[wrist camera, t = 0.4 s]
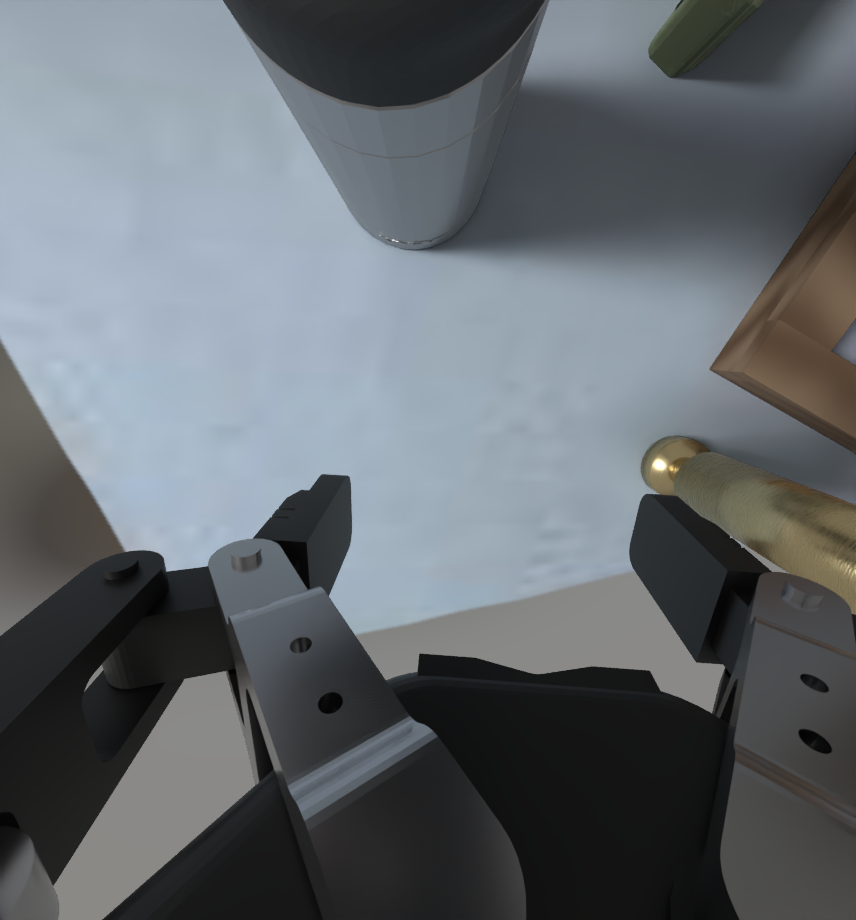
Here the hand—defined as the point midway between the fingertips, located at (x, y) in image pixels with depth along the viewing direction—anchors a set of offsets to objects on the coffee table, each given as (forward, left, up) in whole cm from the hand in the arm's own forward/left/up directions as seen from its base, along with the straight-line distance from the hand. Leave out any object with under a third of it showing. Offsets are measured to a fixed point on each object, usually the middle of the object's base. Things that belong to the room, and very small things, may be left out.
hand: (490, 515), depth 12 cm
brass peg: (+5, +16, -19) cm, 26 cm away
